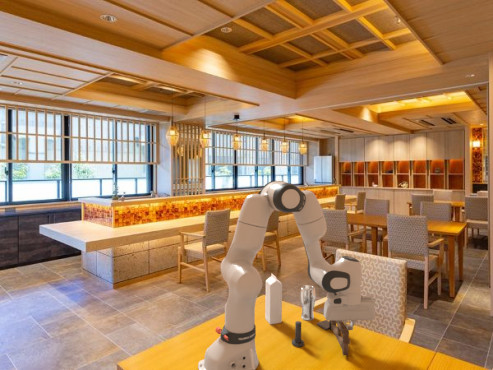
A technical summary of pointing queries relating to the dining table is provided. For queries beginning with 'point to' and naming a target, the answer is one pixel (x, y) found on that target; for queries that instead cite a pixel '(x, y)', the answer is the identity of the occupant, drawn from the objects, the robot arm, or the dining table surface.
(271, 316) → the milk
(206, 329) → the dining table surface
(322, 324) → the hinge post
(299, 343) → the post
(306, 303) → the beer glass
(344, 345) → the gate
